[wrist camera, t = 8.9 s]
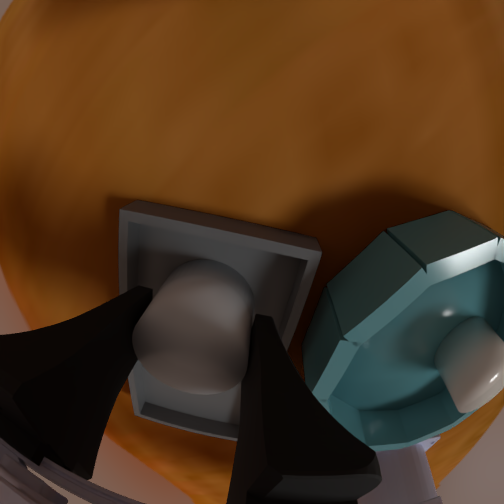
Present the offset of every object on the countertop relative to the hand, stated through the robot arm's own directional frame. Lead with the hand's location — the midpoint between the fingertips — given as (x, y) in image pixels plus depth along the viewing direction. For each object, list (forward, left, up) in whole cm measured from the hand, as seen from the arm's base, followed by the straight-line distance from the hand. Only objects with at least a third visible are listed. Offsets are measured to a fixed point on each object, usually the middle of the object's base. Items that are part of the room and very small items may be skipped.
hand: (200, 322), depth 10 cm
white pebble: (0, 0, -2) cm, 2 cm away
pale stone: (0, -14, -1) cm, 14 cm away
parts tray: (-3, 0, -2) cm, 4 cm away
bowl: (0, -11, -2) cm, 11 cm away
